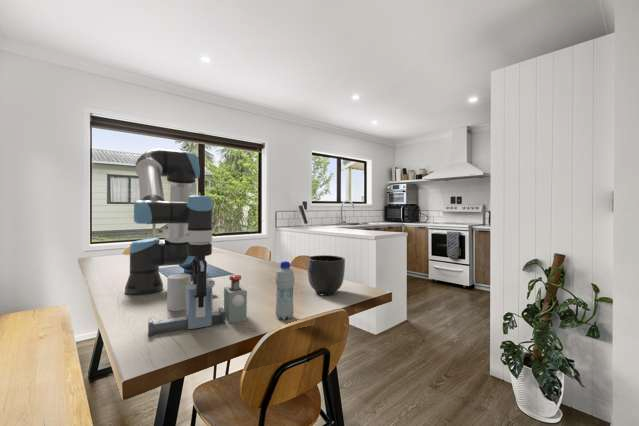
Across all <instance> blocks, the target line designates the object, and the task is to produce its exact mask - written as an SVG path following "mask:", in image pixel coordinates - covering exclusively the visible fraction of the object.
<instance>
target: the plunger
mask: <svg viewBox="0 0 639 426" xmlns="http://www.w3.org/2000/svg"><path fill="white" fill-rule="evenodd" d="M241 280H242V275H241V274H233V275H230V276H229V281H230V282H231V283H230V287H231V291H236V290H239V286H240V281H241Z"/></svg>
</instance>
